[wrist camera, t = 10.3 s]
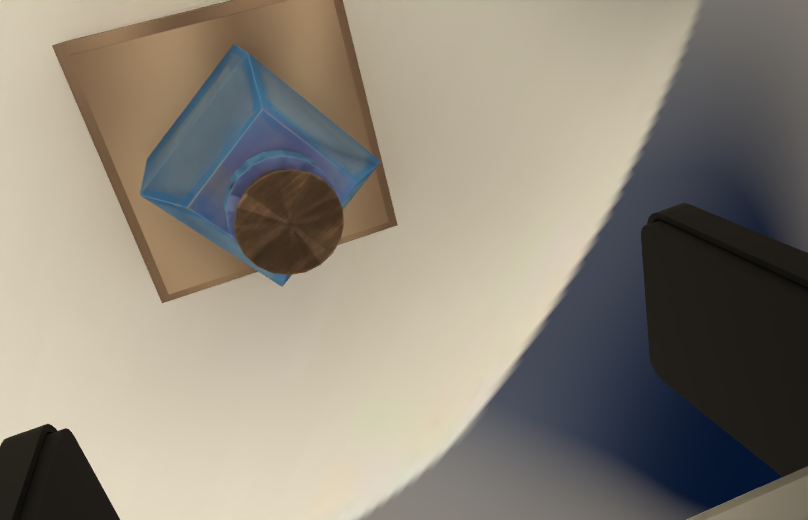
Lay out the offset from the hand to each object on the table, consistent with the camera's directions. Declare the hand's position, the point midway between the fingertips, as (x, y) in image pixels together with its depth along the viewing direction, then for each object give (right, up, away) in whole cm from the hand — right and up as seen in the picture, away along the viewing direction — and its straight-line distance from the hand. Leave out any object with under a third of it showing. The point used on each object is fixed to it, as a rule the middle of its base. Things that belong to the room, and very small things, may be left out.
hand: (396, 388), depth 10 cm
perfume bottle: (-7, +7, +19) cm, 22 cm away
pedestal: (-8, +8, +23) cm, 26 cm away
